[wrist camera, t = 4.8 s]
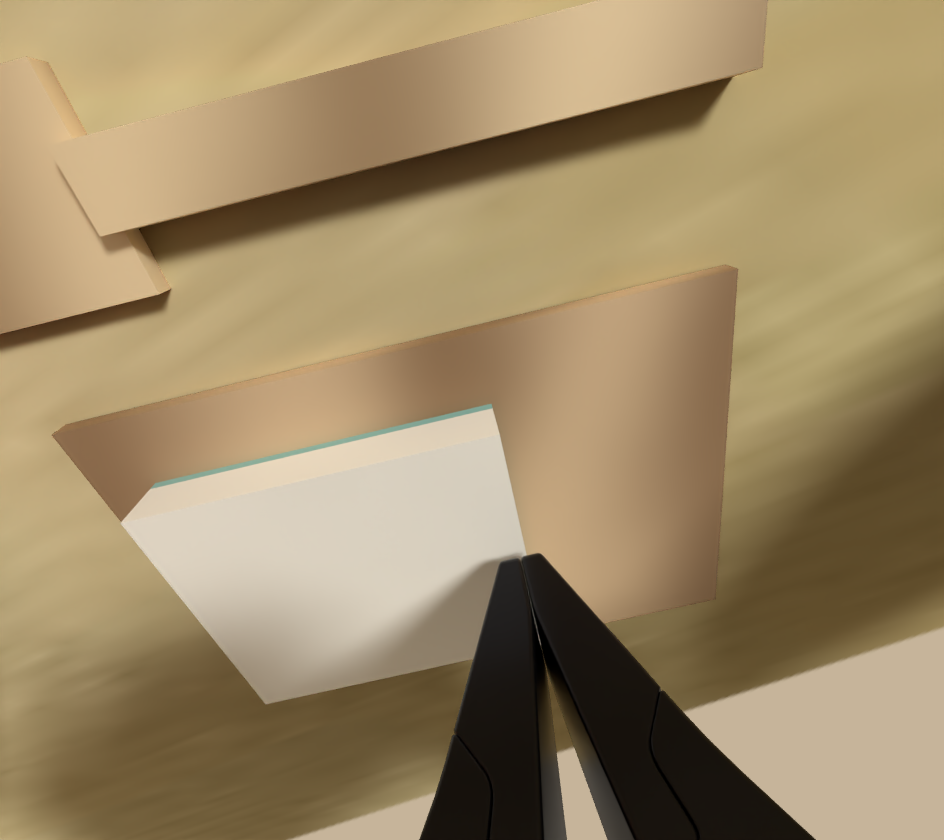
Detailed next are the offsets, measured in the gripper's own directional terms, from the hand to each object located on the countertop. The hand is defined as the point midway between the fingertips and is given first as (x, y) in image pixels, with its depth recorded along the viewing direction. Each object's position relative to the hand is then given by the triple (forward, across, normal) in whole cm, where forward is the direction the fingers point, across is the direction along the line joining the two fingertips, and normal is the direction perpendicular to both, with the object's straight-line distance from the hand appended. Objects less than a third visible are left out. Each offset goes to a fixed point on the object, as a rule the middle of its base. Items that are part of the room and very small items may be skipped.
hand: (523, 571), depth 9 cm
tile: (+1, 0, 0) cm, 1 cm away
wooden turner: (+2, +2, -8) cm, 9 cm away
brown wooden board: (+2, +2, 0) cm, 2 cm away
